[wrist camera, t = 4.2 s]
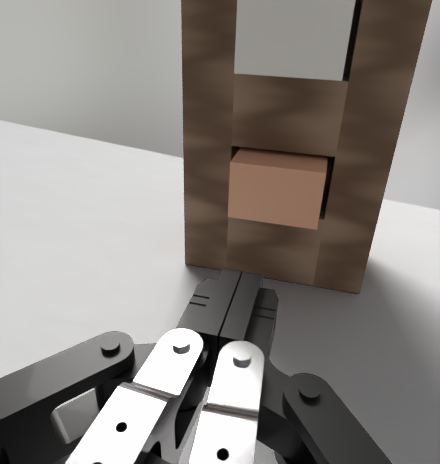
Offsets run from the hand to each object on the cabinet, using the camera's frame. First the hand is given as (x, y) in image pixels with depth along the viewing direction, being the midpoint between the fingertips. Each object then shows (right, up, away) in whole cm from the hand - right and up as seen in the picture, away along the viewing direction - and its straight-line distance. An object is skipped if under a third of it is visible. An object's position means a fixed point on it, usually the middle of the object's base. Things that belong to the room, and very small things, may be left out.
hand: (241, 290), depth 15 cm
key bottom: (+3, +3, +10) cm, 11 cm away
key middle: (+3, +10, +6) cm, 12 cm away
